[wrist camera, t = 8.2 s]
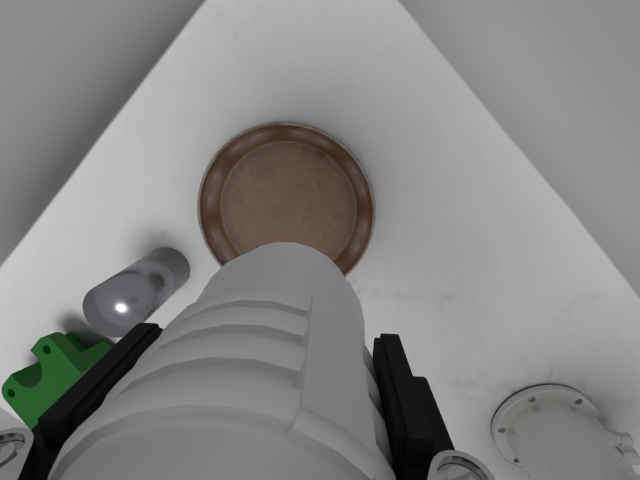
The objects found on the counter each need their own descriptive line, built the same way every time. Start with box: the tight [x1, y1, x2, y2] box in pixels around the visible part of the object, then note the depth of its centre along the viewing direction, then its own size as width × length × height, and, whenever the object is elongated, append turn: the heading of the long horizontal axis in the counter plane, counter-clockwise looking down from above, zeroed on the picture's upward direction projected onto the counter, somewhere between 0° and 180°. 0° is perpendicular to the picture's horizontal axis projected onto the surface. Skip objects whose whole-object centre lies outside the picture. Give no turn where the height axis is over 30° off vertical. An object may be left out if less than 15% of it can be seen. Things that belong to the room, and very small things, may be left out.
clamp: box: [2, 332, 112, 430], centre depth 39 cm, size 12×6×9 cm, turn 130°
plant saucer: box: [197, 122, 375, 278], centre depth 34 cm, size 18×18×3 cm
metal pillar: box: [83, 248, 190, 337], centre depth 33 cm, size 5×5×10 cm
